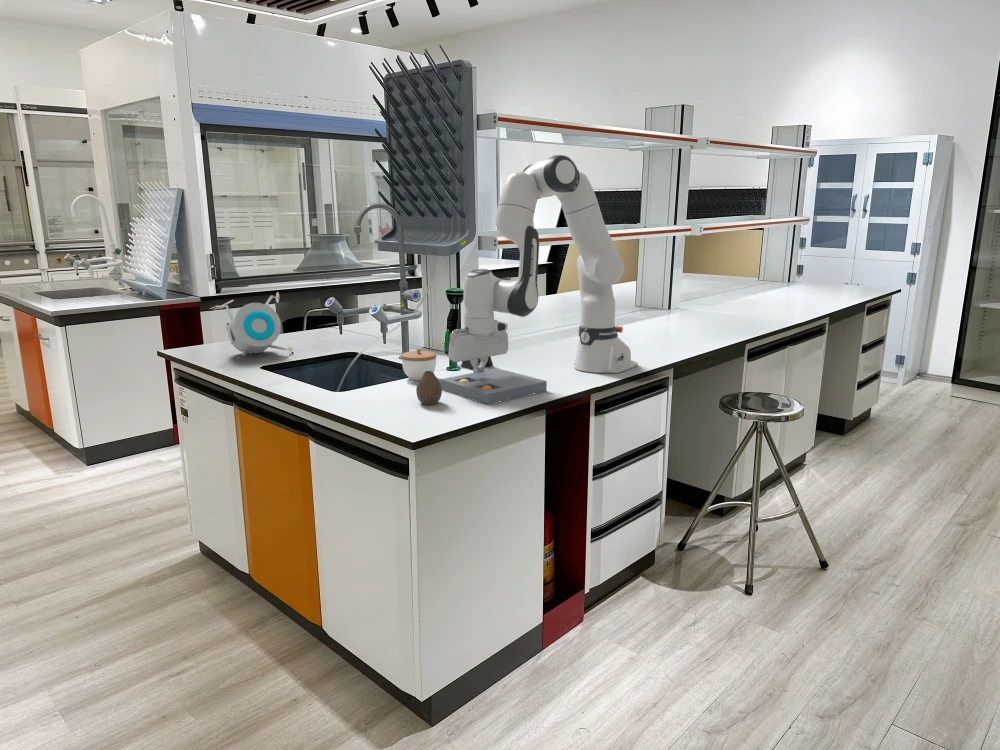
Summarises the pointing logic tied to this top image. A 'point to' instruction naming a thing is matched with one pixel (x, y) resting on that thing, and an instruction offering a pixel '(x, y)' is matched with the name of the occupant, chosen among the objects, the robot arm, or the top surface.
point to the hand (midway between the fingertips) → (478, 372)
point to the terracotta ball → (486, 387)
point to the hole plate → (493, 385)
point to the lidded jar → (418, 363)
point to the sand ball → (464, 381)
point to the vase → (429, 389)
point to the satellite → (254, 327)
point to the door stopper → (468, 365)
